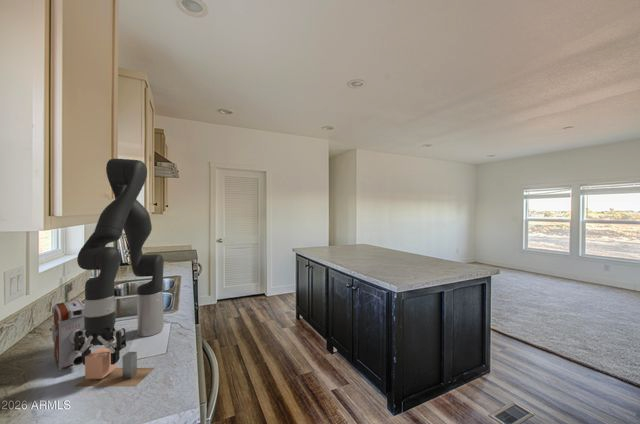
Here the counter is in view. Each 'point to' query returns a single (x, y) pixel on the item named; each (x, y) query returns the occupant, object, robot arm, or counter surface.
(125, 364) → the steel post
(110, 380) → the board
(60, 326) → the cine camera
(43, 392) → the counter surface
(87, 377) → the peach foam brick
